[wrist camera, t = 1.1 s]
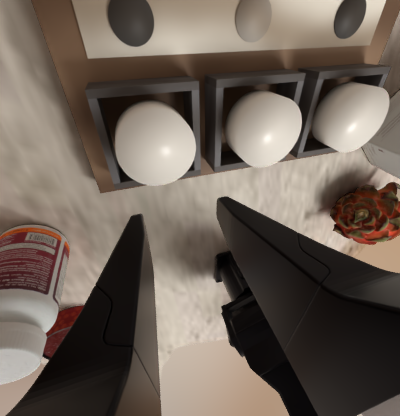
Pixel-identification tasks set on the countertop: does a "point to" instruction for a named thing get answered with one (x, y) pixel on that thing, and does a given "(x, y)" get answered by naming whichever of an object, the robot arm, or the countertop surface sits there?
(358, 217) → the dragon fruit
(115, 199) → the countertop surface
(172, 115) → the button
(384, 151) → the supplement box
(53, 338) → the canned food
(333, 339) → the robot arm
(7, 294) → the pill bottle
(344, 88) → the button
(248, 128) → the button middle
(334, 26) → the button board
